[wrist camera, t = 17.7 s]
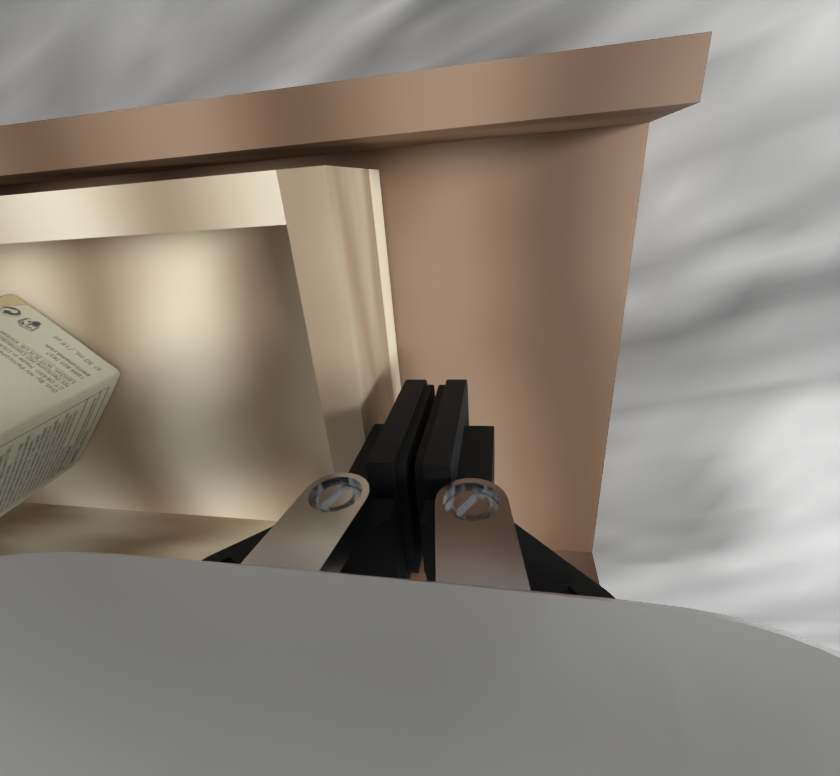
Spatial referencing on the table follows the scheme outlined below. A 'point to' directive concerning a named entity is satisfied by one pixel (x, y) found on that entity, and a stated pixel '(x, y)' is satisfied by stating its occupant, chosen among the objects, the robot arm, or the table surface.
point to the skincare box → (44, 400)
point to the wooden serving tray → (453, 226)
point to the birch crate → (207, 349)
